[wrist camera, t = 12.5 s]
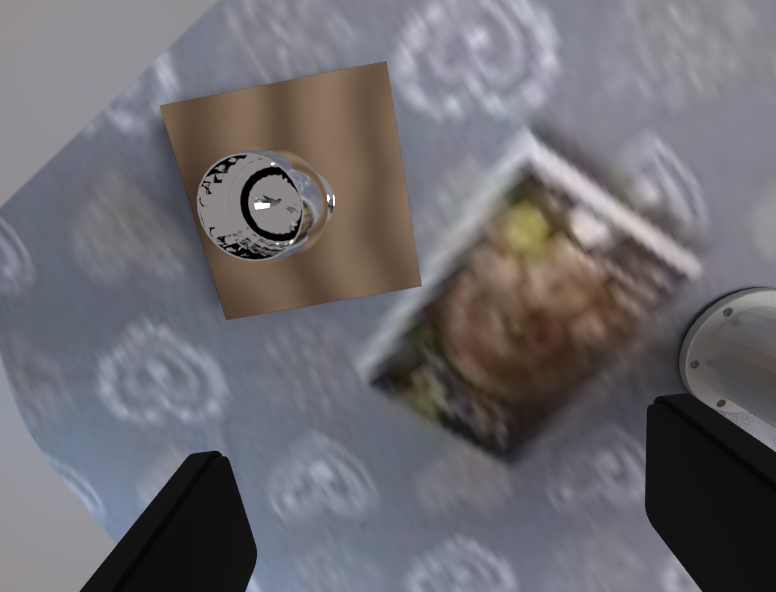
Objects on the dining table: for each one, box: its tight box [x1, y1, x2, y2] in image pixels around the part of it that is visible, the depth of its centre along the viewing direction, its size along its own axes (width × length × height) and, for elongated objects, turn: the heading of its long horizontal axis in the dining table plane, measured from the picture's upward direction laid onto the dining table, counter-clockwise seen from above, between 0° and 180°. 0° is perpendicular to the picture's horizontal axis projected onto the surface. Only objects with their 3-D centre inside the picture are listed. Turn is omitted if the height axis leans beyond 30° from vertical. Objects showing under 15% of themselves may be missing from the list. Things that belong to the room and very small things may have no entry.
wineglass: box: [197, 146, 335, 263], centre depth 22 cm, size 6×6×12 cm
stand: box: [160, 61, 422, 320], centre depth 30 cm, size 16×16×4 cm
